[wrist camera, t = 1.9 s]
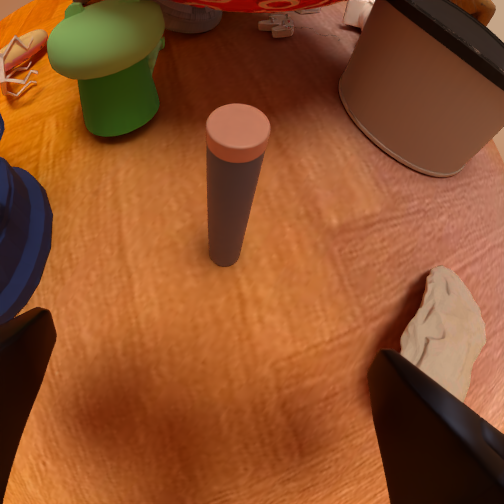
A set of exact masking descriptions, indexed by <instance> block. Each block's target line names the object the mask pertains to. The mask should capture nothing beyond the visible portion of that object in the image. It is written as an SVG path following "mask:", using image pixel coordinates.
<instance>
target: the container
mask: <svg viewBox="0 0 504 504" xmlns="http://www.w3.org/2000/svg"><path fill="white" fill-rule="evenodd" d="M339 94H340V98H341V100H342V103H343V105H344V107H345V109H346V111H347V112H348V114H349V115H350V117H351V118H352V120H353V121H354V122H355V124H356V125H357V126H358V127H359V128H360V129H361V130H362V131H363V132H364V134H365V135H366V136H367V137H368V138H370V139H371V140H372V141H373V142H374V143H375V144H376V145H377V146H378V147H380V148H381V149H382V150H384V151H385V152H386V153H388V154H389V155H390V156H392V157H393V158H395V159H396V160H398V161H399V162H401V163H403V164H404V165H406V166H408V167H410V168H412V169H414V170H416V171H419V172H421V173H424V174H427V175H431V176H436V177H449V176H453V175H455V174H457V173H458V172H459V171H461V170H462V169H463V167H464V166H465V164H466V163H467V162H468V161H469V160H470V159H471V158H472V157H473V156H474V155H475V154H477V153H478V152H479V151H480V150H481V149H482V148H483V147H484V146H485V145H486V144H487V143H488V142H489V141H490V140H491V139H492V138H493V137H494V136H495V135H496V134H497V133H498V132H499V131H500V130H501V129H502V128H503V127H504V43H503V42H502V41H501V40H500V39H499V38H498V37H497V36H496V35H495V34H493V33H492V32H491V31H490V30H489V29H488V28H487V27H486V26H484V25H483V24H482V23H481V22H480V21H478V20H477V19H476V18H474V17H473V16H472V15H470V14H469V13H468V12H466V11H465V10H463V9H462V8H461V7H459V6H458V5H456V4H454V3H453V2H451V1H450V0H375V2H374V4H373V6H372V9H371V11H370V13H369V16H368V18H367V21H366V23H365V25H364V28H363V30H362V32H361V35H360V37H359V39H358V42H357V44H356V46H355V49H354V51H353V53H352V56H351V58H350V60H349V63H348V65H347V67H346V70H345V71H344V72H343V74H342V75H341V77H340V80H339Z"/></svg>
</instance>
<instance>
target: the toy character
mask: <svg viewBox="0 0 504 504" xmlns="http://www.w3.org/2000/svg"><path fill="white" fill-rule="evenodd" d="M164 30H165V22H164V18H163V14H162V10H161V7H160V5H159V4H157V3H156V2H154V1H152V0H104V1H100V2H97V3H94V4H91V5H89V6H86V7H83V5H82V3H78V2H73V3H72V4H71V5H69V6H68V8H67V9H66V11H65V19H63V20H62V21H61V22H60V23H59V24H58V25H57V26H56V27H55V28H54V29H53V30H52V32H51V34H50V36H49V38H48V41H47V52H48V58H49V61H50V64H51V66H52V68H53V69H54V70H55V71H56V72H57V73H59V74H61V75H63V76H65V77H67V78H71V79H77V80H78V87H79V93H80V100H81V105H82V111H83V117H84V122H85V125H86V127H87V129H88V131H90V132H91V133H93V134H94V135H98V136H104V137H108V136H118V135H122V134H125V133H129V132H131V131H133V130H135V129H137V128H139V127H141V126H143V125H144V124H146V123H147V122H148V121H149V120H151V119H152V118H153V116H154V115H155V114H156V112H157V111H158V108H159V105H160V102H159V97H158V94H157V90H156V87H155V84H154V81H153V78H152V74H153V70H154V66H155V63H156V59H157V56H158V52H159V50H161V49H163V48H164V47H165V38H164V36H163V38H162V35H163V33H164Z"/></svg>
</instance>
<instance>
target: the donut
mask: <svg viewBox="0 0 504 504" xmlns="http://www.w3.org/2000/svg"><path fill="white" fill-rule="evenodd" d="M32 37H33V42H32V44H31V46H30V48H29V50H28V52H27V51H26V50H24V49H23V48H21V47H20V46H19V45H17V44H16V43H15V44H14V46H13V47H12V49H11V51H10V52H9V54H8V56H7V58H6V60H5V62H4V65H5V71H8V70H10V69H12V68H14V67H16V66H17V65H19V64H21V63H22V62H24V61H26V60H27V59H29V58H30V57H32V56H33V55H34V54H36V53H37V52H38V51H39V50H41V49H42V48H43V47H44V45H45V44H46V42H47V39H48V35H47V33H46V32H45V31H44V30H34V31H32V32H29V33H27V34H25V35H23V36H21V37H19V39H20V40H21V41H22V42H23V44H24V45H25V46H26V47H27V48H28V45H29V43H30V41H31V39H32ZM8 45H9V44H8ZM8 45H6V46H5V47H4V48H2V49H1V50H0V53H4V51H5V50H6V48H7V46H8Z"/></svg>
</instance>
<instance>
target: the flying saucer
mask: <svg viewBox="0 0 504 504" xmlns="http://www.w3.org/2000/svg"><path fill="white" fill-rule="evenodd" d="M152 1H154V2H156V3H157V4H159V5H160V7H161V10H162V14H163V18H164V22H165V29H167V30H170V31H175V32H180V33H202V32H206V31H209V30H211V29H213V28H215V27H216V26H217V25H218V24H219V23H220V21H221V18H222V13H223V11H220V10H215V9H211V8H209V7H207V6H205V7H204V8H199V7H194V6H190V5H186V4H181V3H176V2H173V1H169V0H152Z"/></svg>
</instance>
